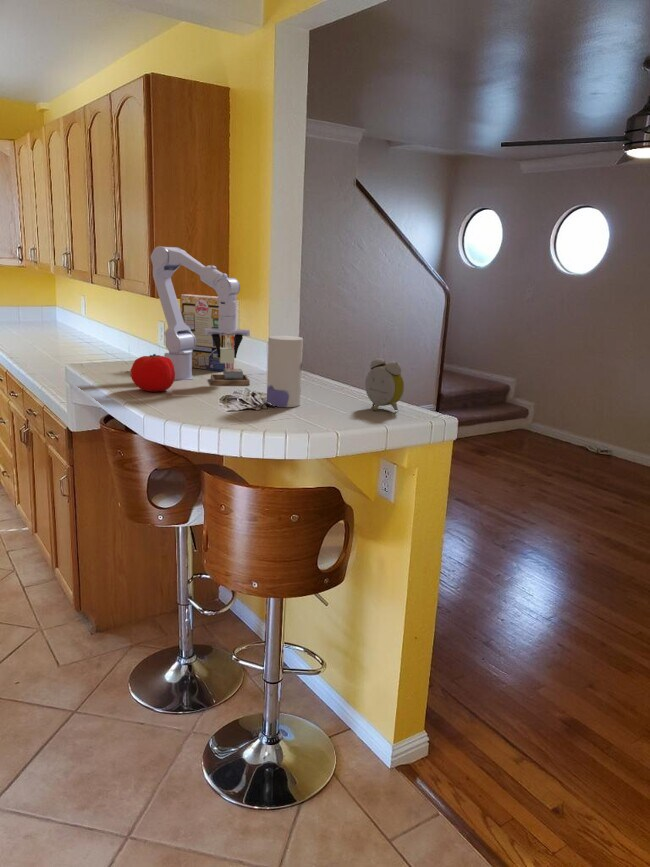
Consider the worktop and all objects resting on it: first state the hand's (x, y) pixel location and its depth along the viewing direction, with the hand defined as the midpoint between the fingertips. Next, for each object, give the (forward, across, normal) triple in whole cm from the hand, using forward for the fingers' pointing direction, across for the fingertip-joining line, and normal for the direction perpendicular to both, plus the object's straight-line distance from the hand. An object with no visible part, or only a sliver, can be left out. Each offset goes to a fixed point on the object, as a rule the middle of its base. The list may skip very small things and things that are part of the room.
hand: (226, 357), depth 220 cm
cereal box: (+10, -5, +33) cm, 34 cm away
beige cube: (+2, 0, 0) cm, 2 cm away
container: (+10, +15, -28) cm, 33 cm away
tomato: (+10, -23, -10) cm, 27 cm away
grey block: (+9, +2, +4) cm, 10 cm away
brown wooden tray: (+9, +1, +4) cm, 10 cm away
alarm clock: (+10, +43, -36) cm, 57 cm away
